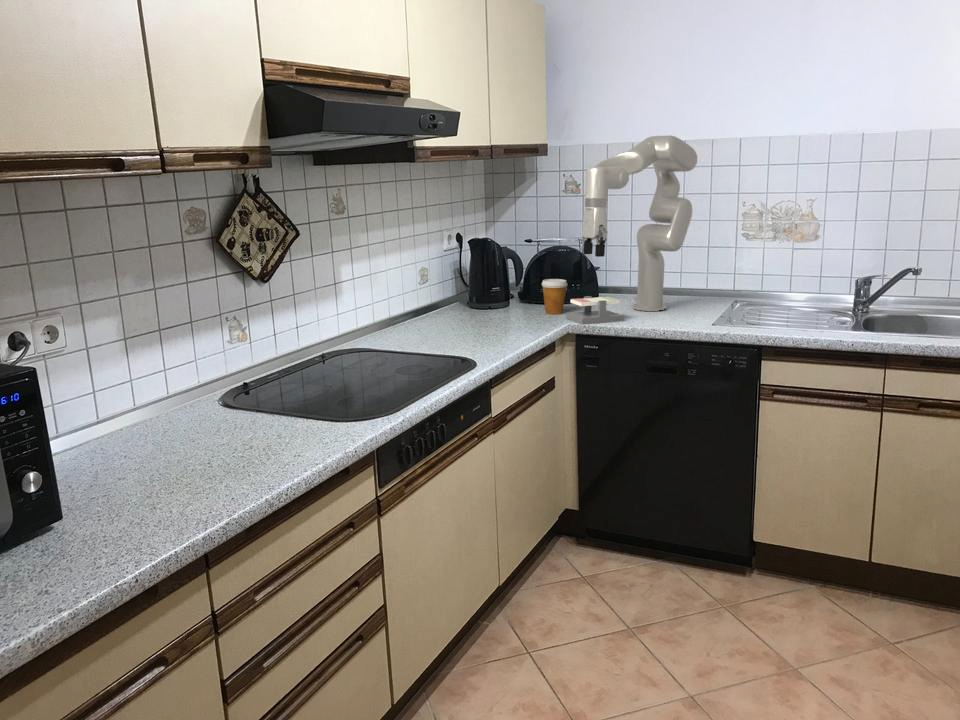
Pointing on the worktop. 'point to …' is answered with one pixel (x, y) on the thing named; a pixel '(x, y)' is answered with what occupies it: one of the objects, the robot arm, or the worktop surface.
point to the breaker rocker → (594, 301)
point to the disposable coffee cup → (554, 295)
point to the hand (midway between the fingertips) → (593, 255)
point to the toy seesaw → (594, 314)
